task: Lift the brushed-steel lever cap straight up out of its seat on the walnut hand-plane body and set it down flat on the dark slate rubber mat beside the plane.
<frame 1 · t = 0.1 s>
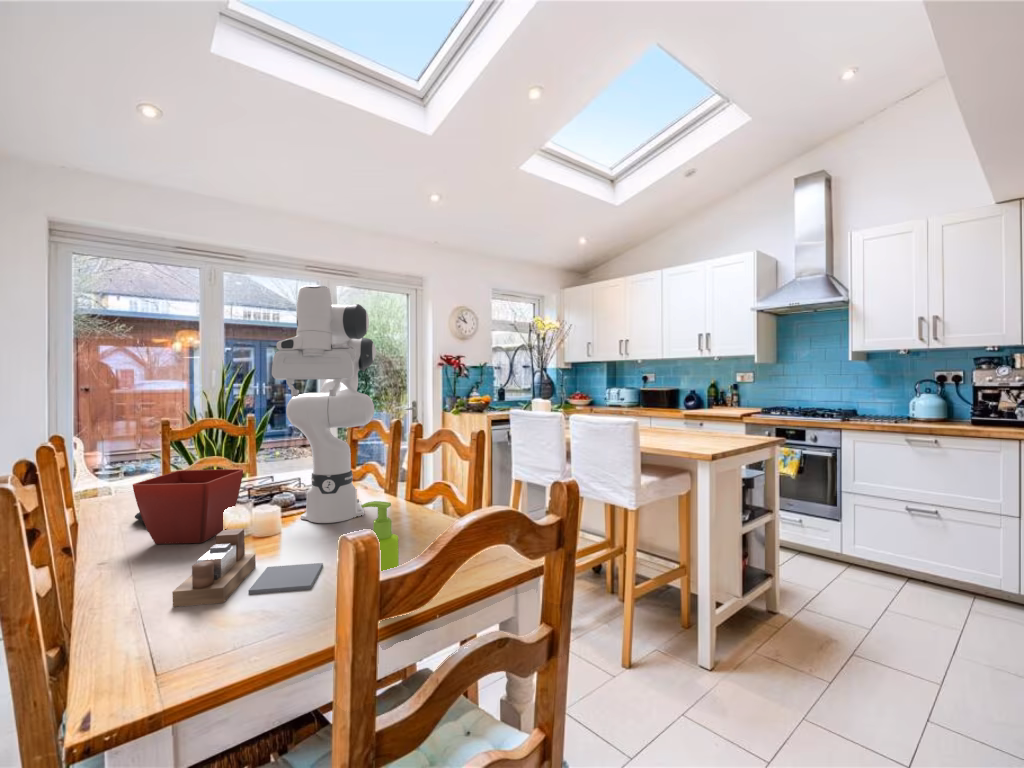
hand: (314, 396, 126), 39 cm above the table, tool pointing down, fingers open, 8 cm apart
casserole: (172, 517, 151), on the table
soap dispenser: (380, 606, 92), on the table
slate mat: (288, 579, 104), on the table
lever cap: (217, 570, 102), point 3 cm above the table, touching plane body
plant pot: (192, 536, 133), on the table
plane body: (218, 584, 102), on the table
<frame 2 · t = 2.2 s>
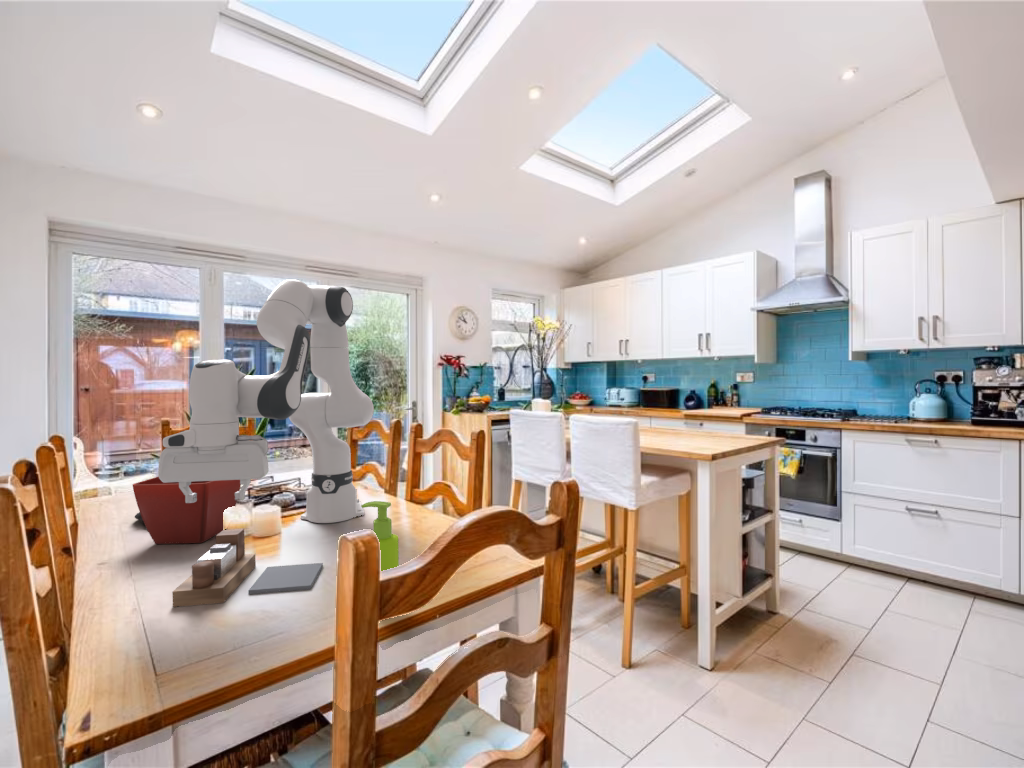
hand: (215, 501, 101), 18 cm above the table, tool pointing down, fingers open, 8 cm apart
nothing on the table moved.
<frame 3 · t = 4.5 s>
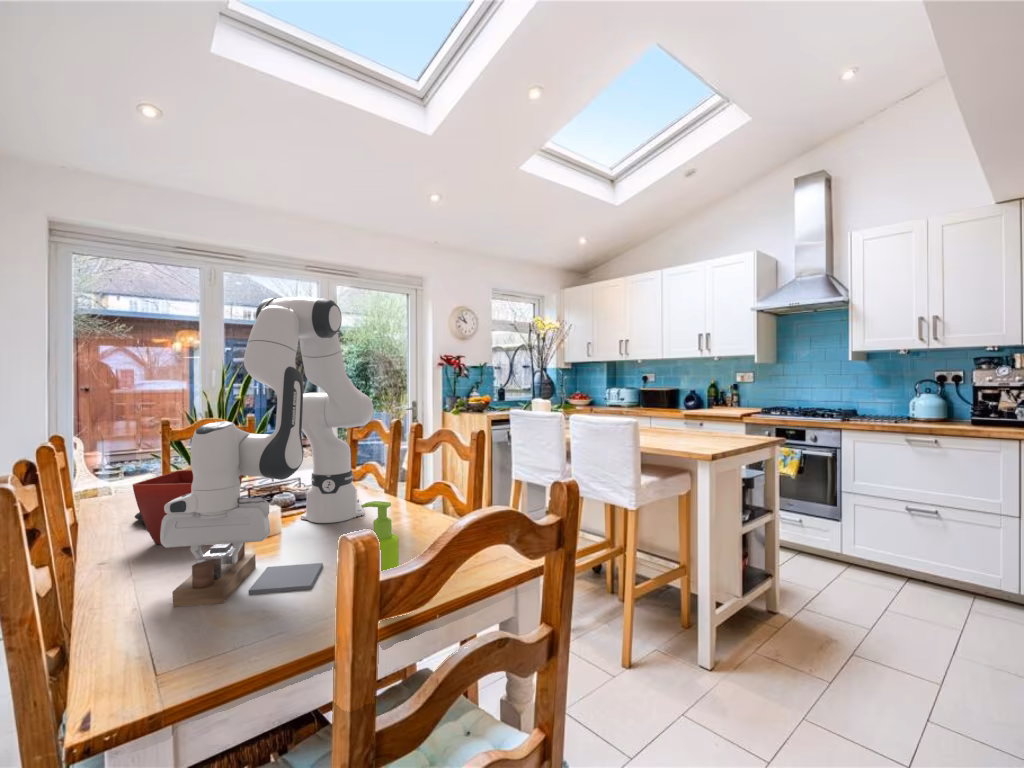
hand: (217, 563, 102), 4 cm above the table, tool pointing down, fingers closed on lever cap, 4 cm apart
lever cap: (217, 570, 102), point 3 cm above the table, touching gripper, plane body
everything else where it was.
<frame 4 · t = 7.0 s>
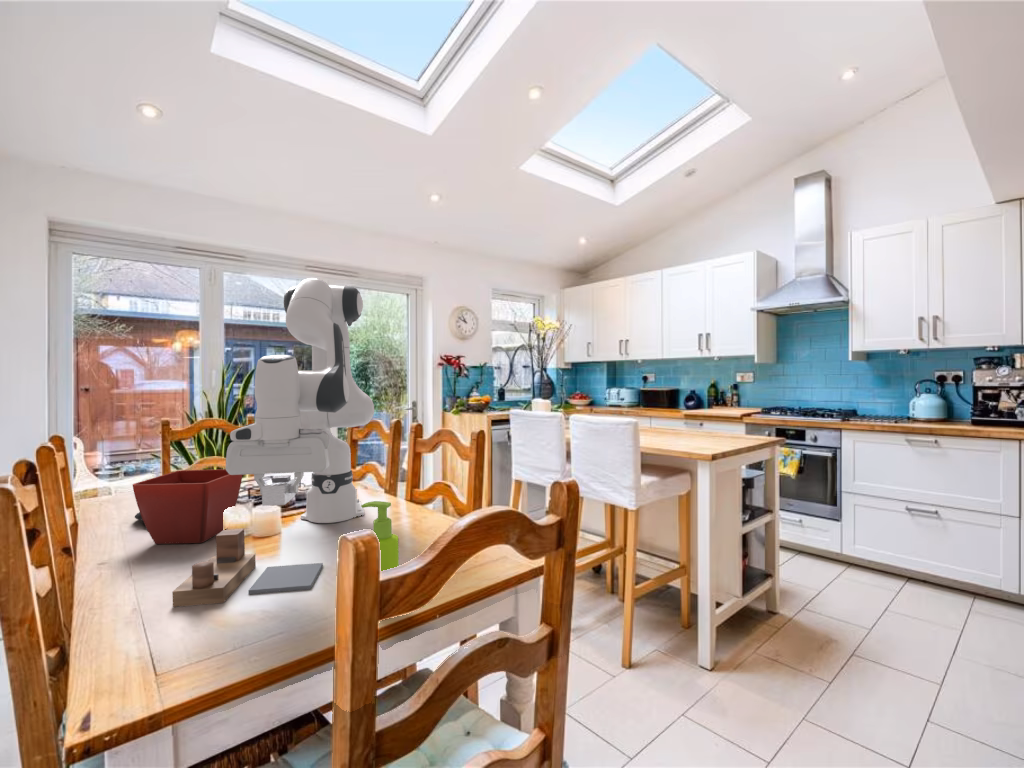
hand: (279, 493, 104), 19 cm above the table, tool pointing down, fingers closed on lever cap, 4 cm apart
lever cap: (279, 500, 104), point 17 cm above the table, touching gripper
everything else where it was.
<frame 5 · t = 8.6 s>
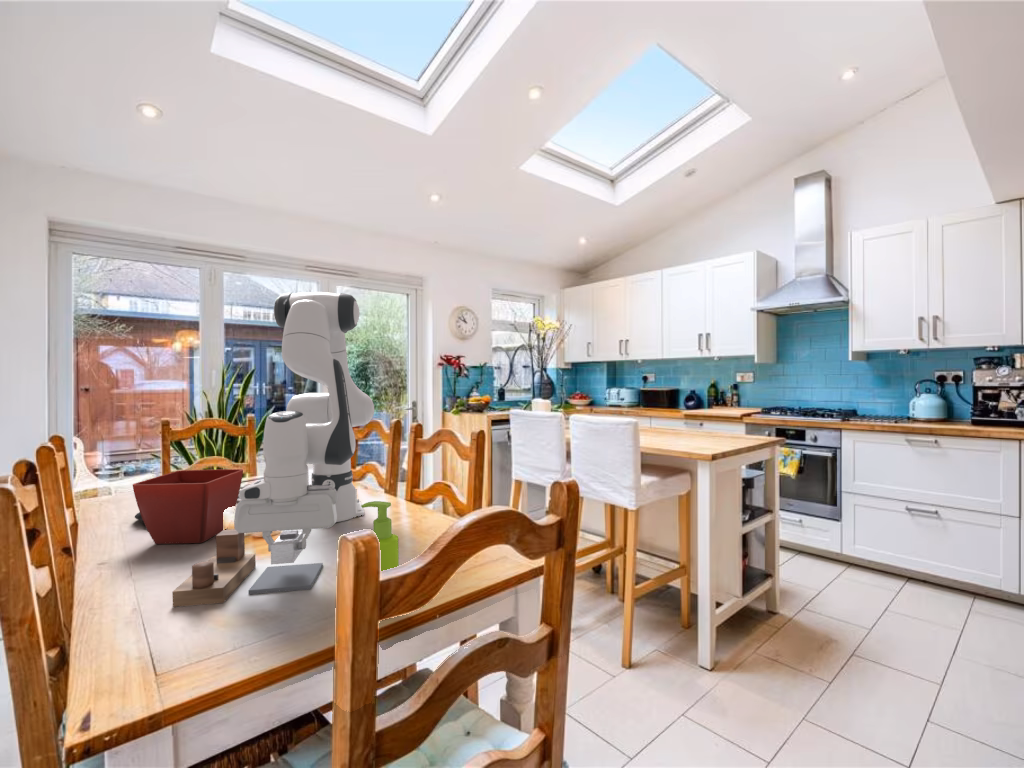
hand: (287, 549, 104), 7 cm above the table, tool pointing down, fingers closed on lever cap, 4 cm apart
lever cap: (287, 556, 104), point 5 cm above the table, touching gripper
everything else where it was.
when the fingers open (4 cm above the table, at t = 9.8 s): lever cap drops 2 cm, resting on slate mat.
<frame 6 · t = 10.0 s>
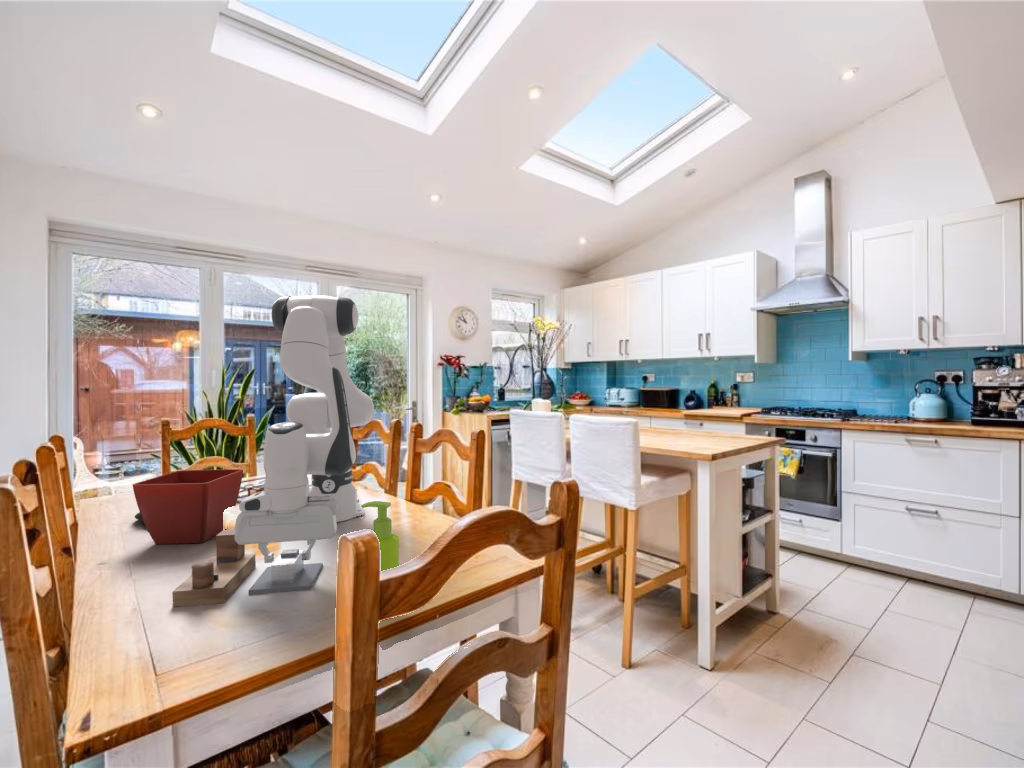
hand: (287, 560, 104), 4 cm above the table, tool pointing down, fingers open, 6 cm apart
lever cap: (288, 575, 104), point 1 cm above the table, touching slate mat
everything else where it was.
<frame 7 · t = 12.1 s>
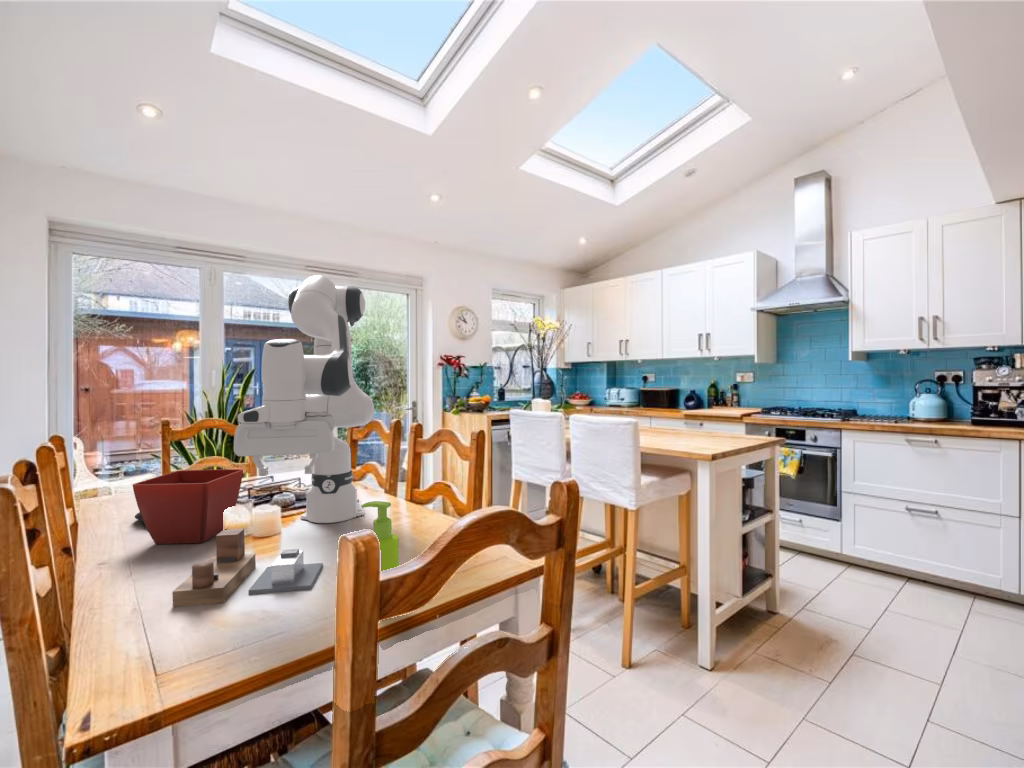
hand: (286, 474, 106), 23 cm above the table, tool pointing down, fingers open, 8 cm apart
nothing on the table moved.
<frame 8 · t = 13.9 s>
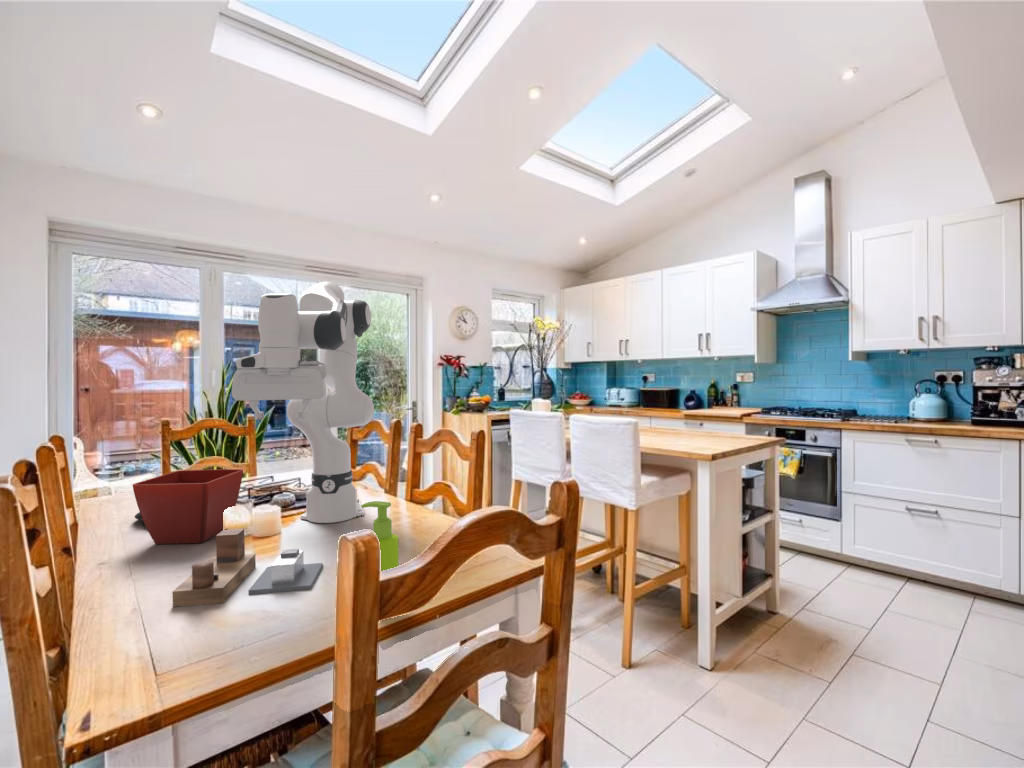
hand: (280, 419, 114), 34 cm above the table, tool pointing down, fingers open, 8 cm apart
nothing on the table moved.
at the end: lever cap inside the target area on the slate mat (0.0 cm from its centre), point 0.8 cm above the slate mat's base; lever cap tilted 0°; the gripper is holding nothing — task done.
